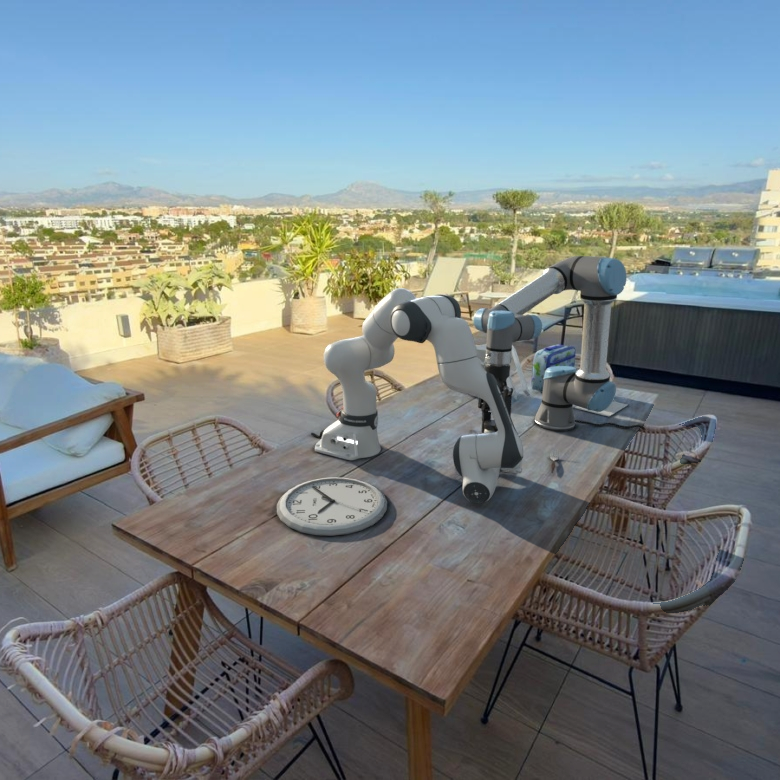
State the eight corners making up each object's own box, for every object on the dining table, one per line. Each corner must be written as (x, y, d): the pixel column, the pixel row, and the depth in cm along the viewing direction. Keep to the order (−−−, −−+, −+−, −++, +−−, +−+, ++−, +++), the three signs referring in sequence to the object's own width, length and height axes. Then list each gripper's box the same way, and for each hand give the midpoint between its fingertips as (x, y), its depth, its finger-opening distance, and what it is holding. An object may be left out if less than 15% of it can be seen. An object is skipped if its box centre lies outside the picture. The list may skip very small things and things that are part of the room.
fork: (547, 473, 163) (548, 467, 163) (550, 454, 177) (551, 448, 177) (556, 475, 162) (556, 469, 162) (558, 455, 177) (559, 449, 176)
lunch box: (547, 397, 237) (552, 352, 231) (526, 391, 245) (531, 348, 238) (574, 386, 255) (580, 344, 249) (554, 381, 262) (559, 340, 256)
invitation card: (608, 416, 214) (573, 407, 224) (608, 416, 214) (573, 408, 224) (628, 404, 229) (594, 396, 238) (628, 405, 229) (594, 397, 238)
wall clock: (392, 527, 129) (268, 531, 127) (391, 533, 130) (269, 537, 127) (383, 473, 158) (282, 475, 155) (383, 478, 158) (282, 480, 156)
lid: (501, 426, 164) (502, 420, 163) (500, 432, 159) (500, 426, 158) (484, 424, 165) (485, 418, 165) (482, 430, 160) (483, 424, 160)
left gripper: (522, 464, 149) (525, 445, 161) (451, 453, 154) (459, 437, 167) (520, 484, 151) (523, 464, 163) (450, 473, 156) (458, 455, 169)
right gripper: (469, 357, 162) (464, 427, 169) (507, 372, 146) (500, 448, 153) (489, 355, 165) (483, 423, 172) (528, 369, 149) (521, 444, 156)
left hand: (490, 450), depth 165 cm, fingers closed on jar, 5 cm apart
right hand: (491, 435), depth 163 cm, fingers open, 6 cm apart
